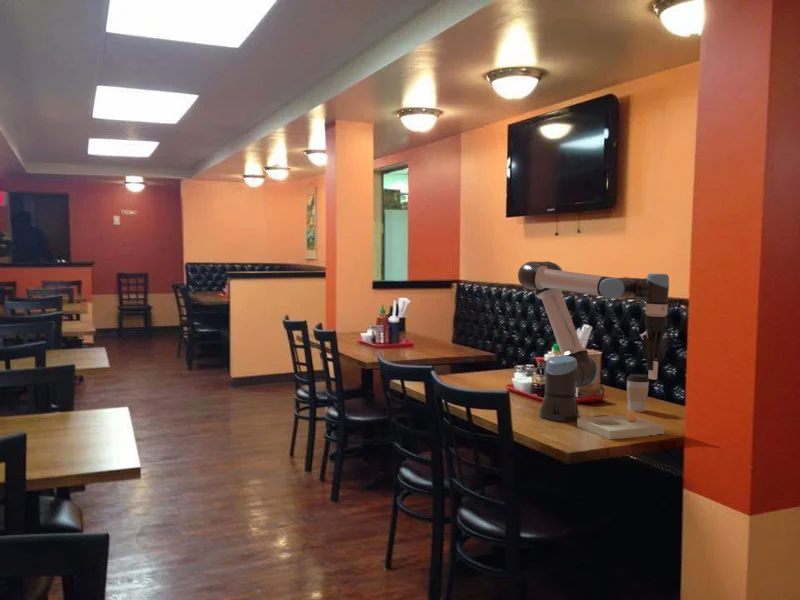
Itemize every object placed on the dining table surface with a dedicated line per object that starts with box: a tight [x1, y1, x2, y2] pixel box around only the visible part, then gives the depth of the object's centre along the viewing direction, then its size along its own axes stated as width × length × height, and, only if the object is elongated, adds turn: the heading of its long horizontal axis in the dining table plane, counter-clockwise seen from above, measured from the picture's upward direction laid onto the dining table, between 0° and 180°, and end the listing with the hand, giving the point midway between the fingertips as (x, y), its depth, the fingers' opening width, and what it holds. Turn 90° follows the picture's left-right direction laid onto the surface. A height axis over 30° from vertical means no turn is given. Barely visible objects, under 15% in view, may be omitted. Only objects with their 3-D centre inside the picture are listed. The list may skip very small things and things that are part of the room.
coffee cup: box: [626, 373, 651, 413], centre depth 272 cm, size 9×9×15 cm
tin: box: [578, 382, 605, 399], centre depth 285 cm, size 15×3×8 cm, turn 119°
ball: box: [625, 410, 638, 422], centre depth 240 cm, size 4×4×4 cm
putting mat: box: [576, 414, 665, 440], centre depth 238 cm, size 18×24×3 cm
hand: (652, 378), depth 242 cm, fingers closed
